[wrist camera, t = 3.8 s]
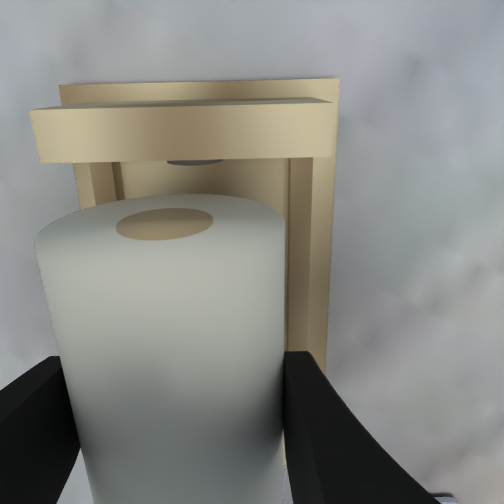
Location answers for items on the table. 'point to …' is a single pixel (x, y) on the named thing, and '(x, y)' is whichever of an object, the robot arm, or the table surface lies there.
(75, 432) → the robot arm
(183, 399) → the roll
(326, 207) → the beige wooden frame
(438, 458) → the table surface
